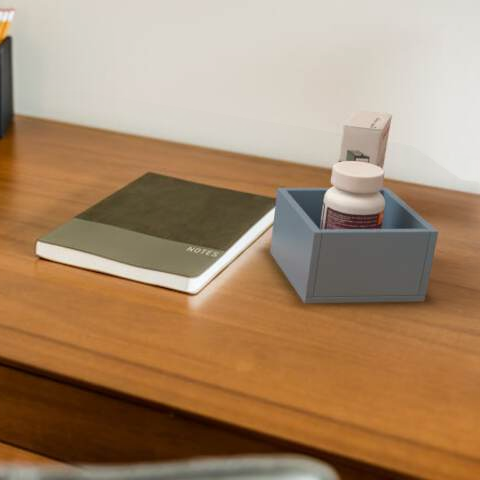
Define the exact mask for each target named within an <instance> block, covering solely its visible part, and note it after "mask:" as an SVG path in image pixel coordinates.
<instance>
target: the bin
mask: <svg viewBox="0 0 480 480" xmlns="http://www.w3.org/2000/svg"><path fill="white" fill-rule="evenodd" d="M330 188H331V187H277V190H276V191H277V192H276V199H275V206H274V216H273V222H272V223H273V224H272V230H271V231H272V232H271V241H270V249H269V253H270V254H271V256H272V257H273V259H274V261H275V262H276V263H277V265H278V267H279V268H280V269H281V271H282V272H283V274H284V275H285V277H286V279H287V280H288V281H289V283H290V284H291V286H292V287H293V288H294V290H295V291H296V293H297V295H298V296H299V297H300V299H301V300H302V302H303V303H304V304H328V303H329V304H330V303H331V304H340V303H343V304H344V303H345V304H347V303H397V302H398V303H399V302H400V303H402V302H404V303H405V302H406V303H407V302H408V303H409V302H425V300H426V295H427V291H428V287H429V281H430V276H431V271H432V266H433V261H434V258H435V257H434V256H435V251H436V246H437V242H438V241H437V240H438V235H439V230H438V229H436V228H435V227H434V226H433V225H432V224H431V223H429V222H428V221H427V220H426V219H425V218H424V217H422V216H421V215H420V214H419V213H418V212H417V211H416V210H414V209H413V208H412V207H411V206H409V205H408V203H406V202H405V201H404V200H403V199H402V198H401V197H399V196H398V195H397V194H396V193H395V192H394V191H392V190H391V189H390V188H389V187H383V188H382V190H380V191H378V192H380V193H381V194H382V196H383V197H384V200H385V208H384V215H383V222H382V228H381V229H320V223H321V215H322V208H323V200H324V196H325V193H326V192H327V190H328V189H330Z"/></svg>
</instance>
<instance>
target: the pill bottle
mask: <svg viewBox="0 0 480 480" xmlns="http://www.w3.org/2000/svg"><path fill="white" fill-rule="evenodd" d="M330 176H331V177H330V184H331V185H332V186H331V187H329V188H330V189H328V190H327V192H326V193H325V196H324V200H323V208H322V215H321V223H320V229H381V228H382V222H383V215H384V208H385V200H384V197H383V196H382V194H381V193H380V192H378V191H380V190H382V188H384V182H385V181H384V179H385V170H384V168H383V169H382V168H380V167H378V166H376V165H373V164H370V163H365V162H358V161H343V162H339V161H338V162H336V163H334V164H333V166H332V170H331V175H330Z"/></svg>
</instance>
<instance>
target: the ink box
mask: <svg viewBox="0 0 480 480" xmlns="http://www.w3.org/2000/svg"><path fill="white" fill-rule="evenodd" d="M392 118H393V114H392V113H387V112H376V111H366V110H358V109H355V110H354V111H353V112H352V114H351V115H350V116H349V118H348V119H347V120H346V121H345V123H344V124H343V128H342V135H341V142H340V149H339V157H338V162H343V161H358V162H365V163H370V164H373V165H376V166H378V167H380V168H382V169H383V170H384V165H385V159H386V152H387V147H388V140H389V134H390V128H391V123H392Z"/></svg>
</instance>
